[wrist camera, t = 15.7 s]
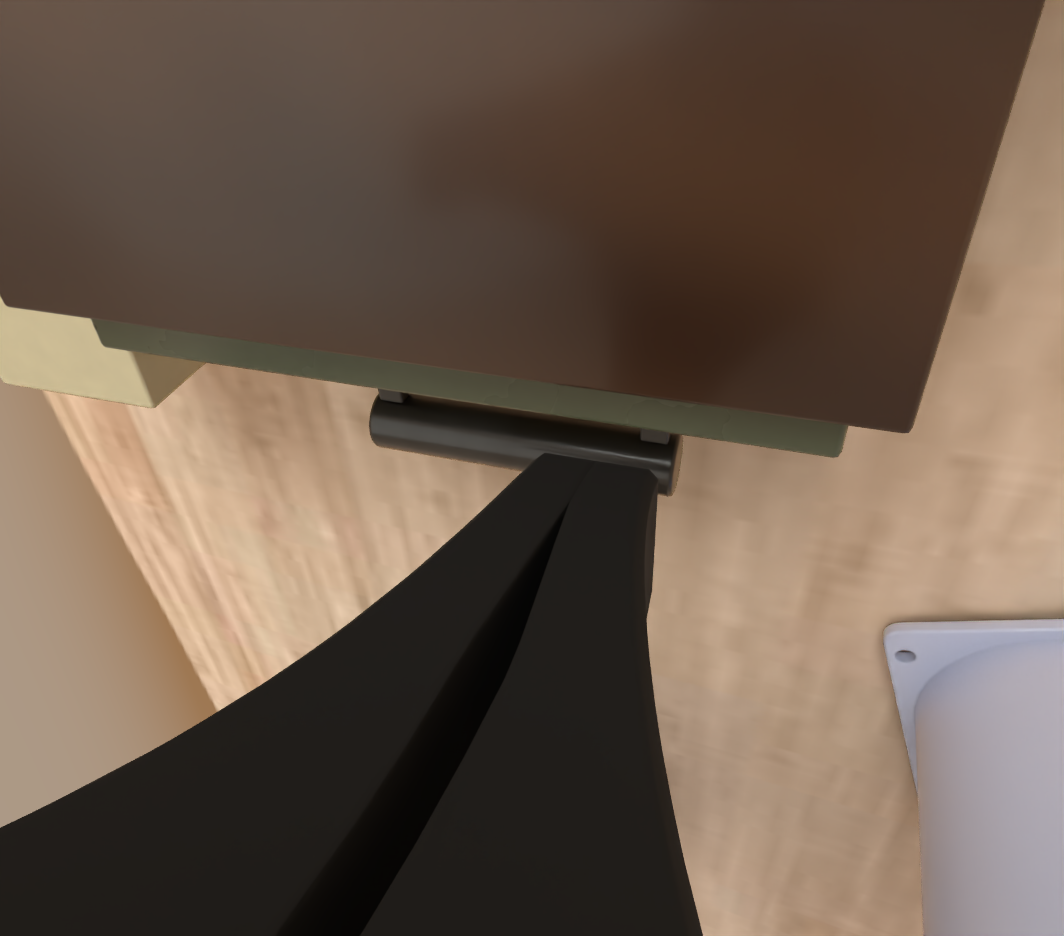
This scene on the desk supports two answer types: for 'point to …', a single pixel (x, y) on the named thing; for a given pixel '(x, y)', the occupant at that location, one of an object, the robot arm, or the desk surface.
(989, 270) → the desk surface
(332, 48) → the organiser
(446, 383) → the drawer
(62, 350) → the note cube
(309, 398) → the desk surface
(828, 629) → the desk surface
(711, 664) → the desk surface
